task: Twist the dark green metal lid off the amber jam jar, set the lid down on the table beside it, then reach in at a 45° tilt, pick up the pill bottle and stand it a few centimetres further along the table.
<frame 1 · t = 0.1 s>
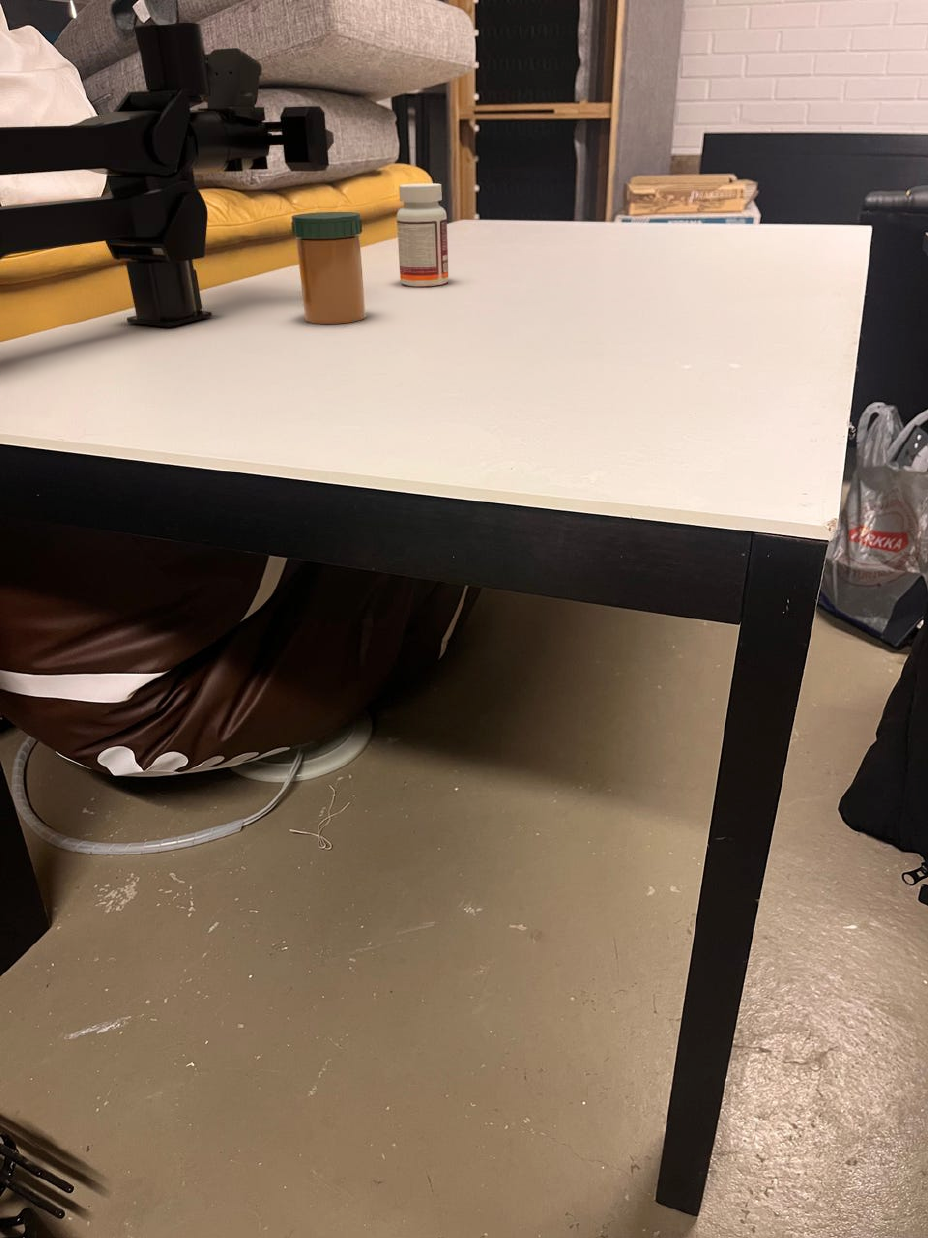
hand: (301, 138, 105), 17 cm above the table, tool horizontal, fingers open, 9 cm apart
jar lid: (326, 219, 88), point 10 cm above the table, screwed on, not yet turned
pill bottle: (424, 284, 112), on the table
jar: (335, 317, 93), on the table
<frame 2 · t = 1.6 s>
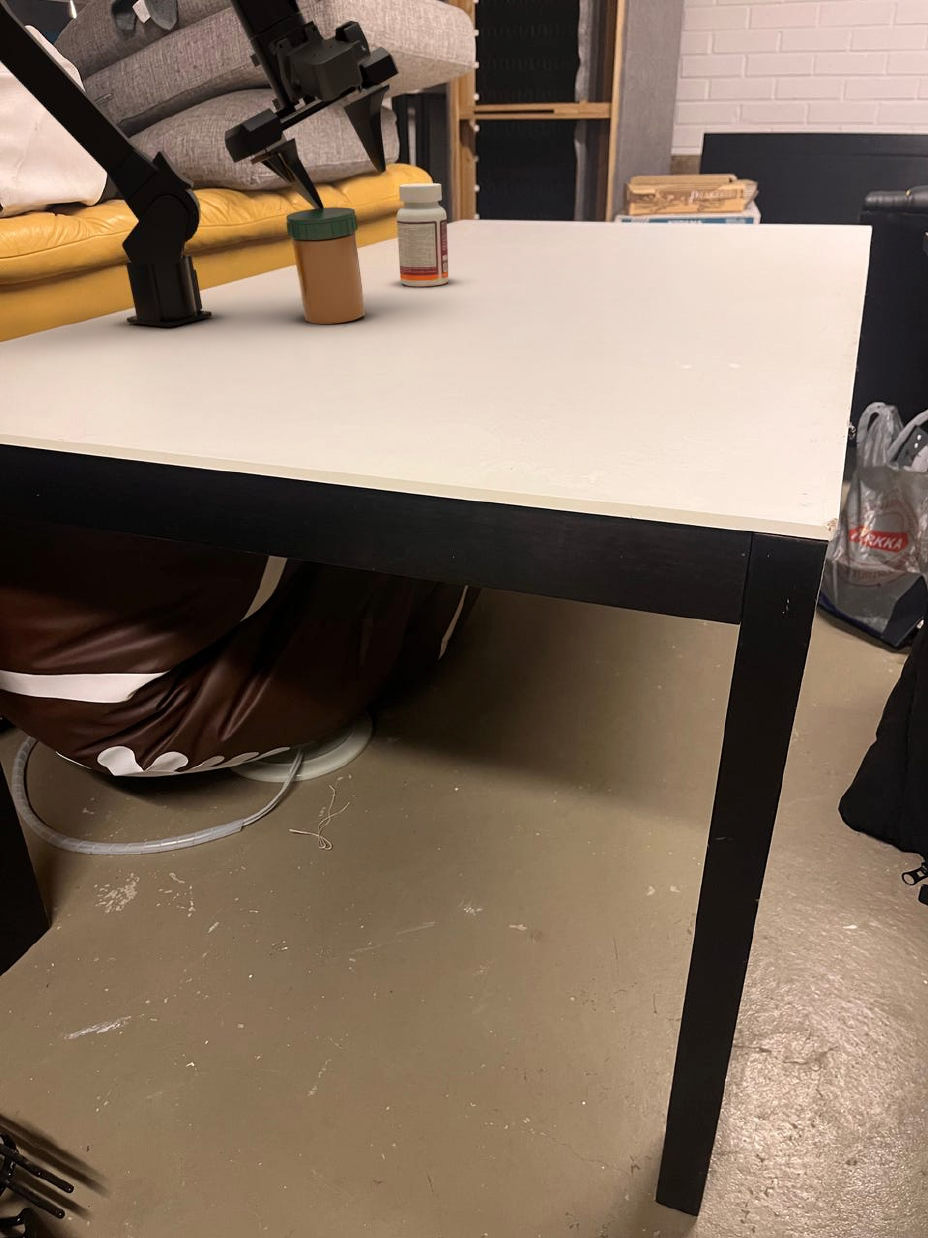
hand: (352, 190, 92), 12 cm above the table, tool tilted 25°, fingers open, 8 cm apart
jar lid: (321, 217, 87), point 10 cm above the table, screwed on, not yet turned, touching gripper
everything else where it was.
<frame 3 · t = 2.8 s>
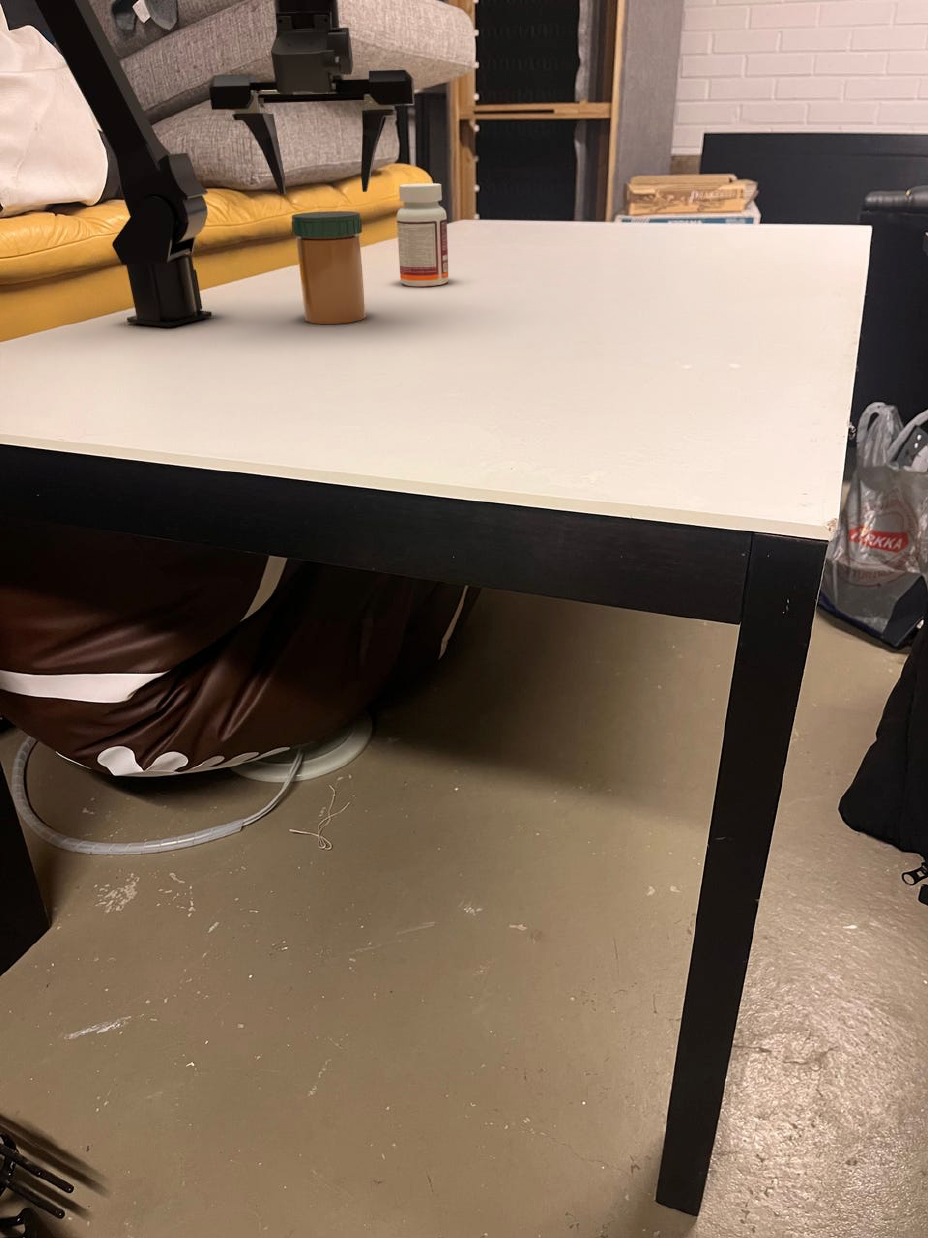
hand: (324, 192, 87), 12 cm above the table, tool pointing down, fingers open, 8 cm apart
jar lid: (326, 218, 88), point 10 cm above the table, turned 22° so far, risen 0.1 cm, still on its thread
everything else where it was.
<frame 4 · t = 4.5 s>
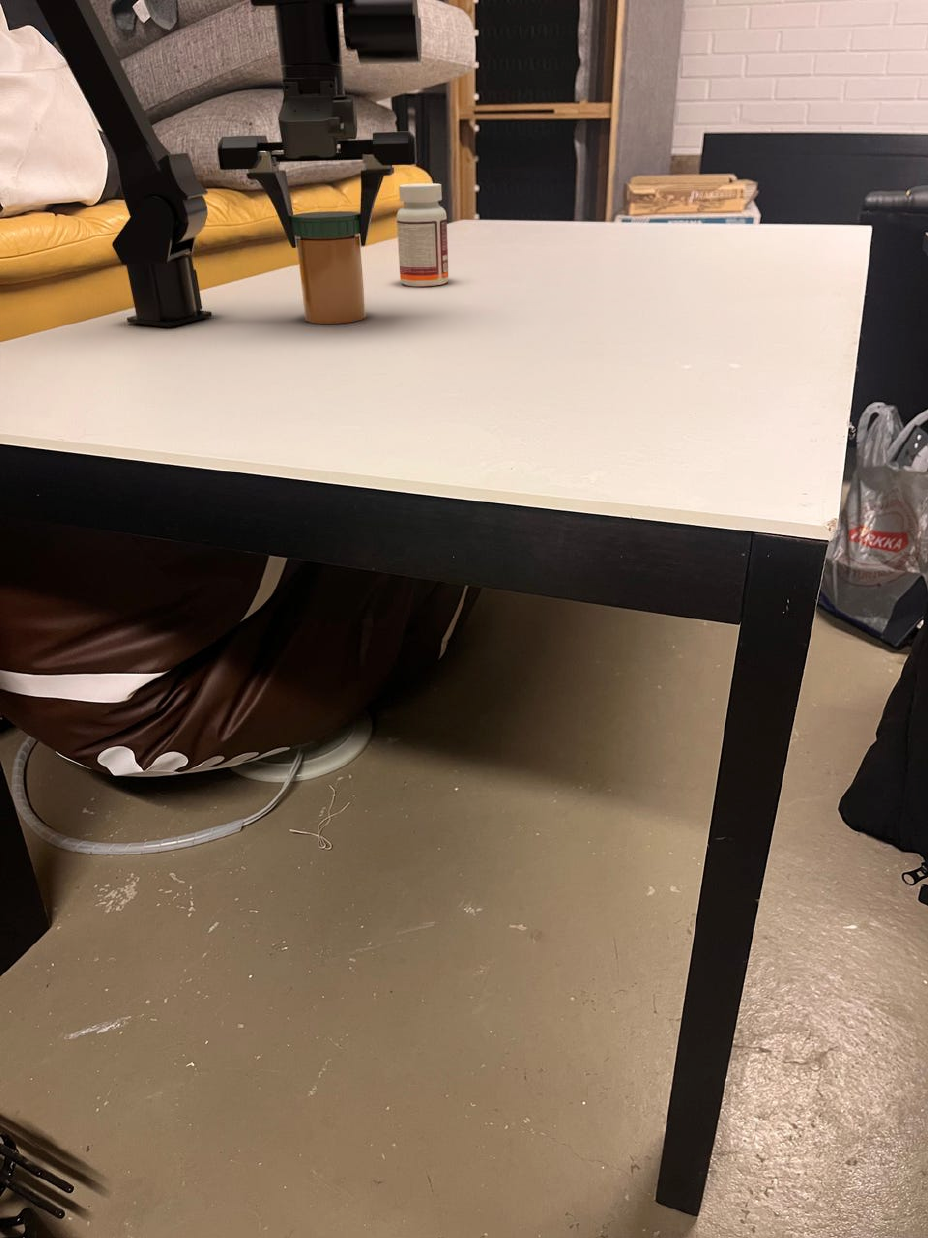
hand: (328, 246, 89), 7 cm above the table, tool pointing down, fingers closed on jar lid, 7 cm apart
jar lid: (326, 218, 88), point 10 cm above the table, turned 22° so far, risen 0.1 cm, still on its thread, touching gripper
everything else where it was.
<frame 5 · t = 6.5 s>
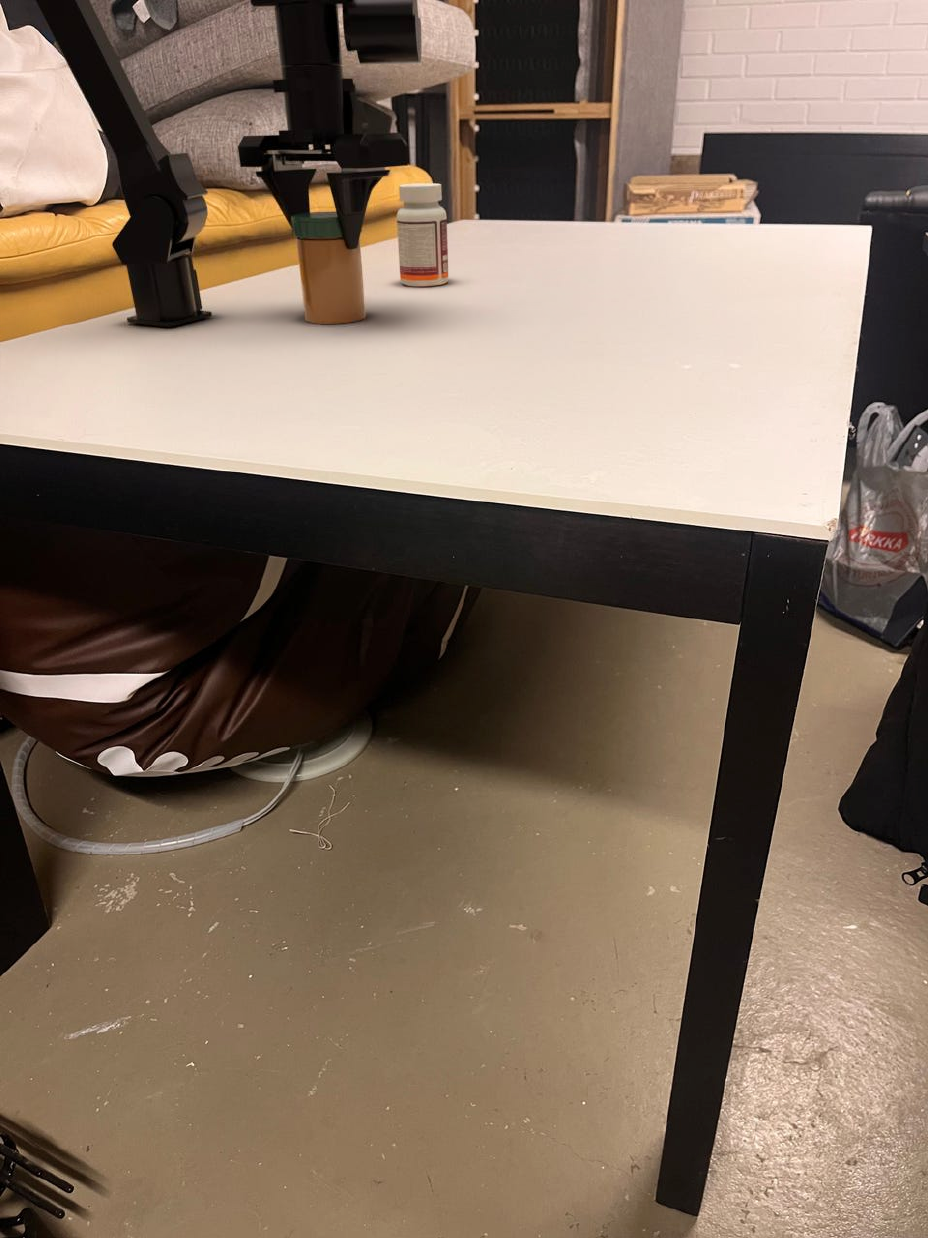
hand: (328, 246, 89), 7 cm above the table, tool pointing down, fingers closed on jar lid, 7 cm apart
jar lid: (325, 218, 88), point 10 cm above the table, off its thread, touching gripper
everything else where it was.
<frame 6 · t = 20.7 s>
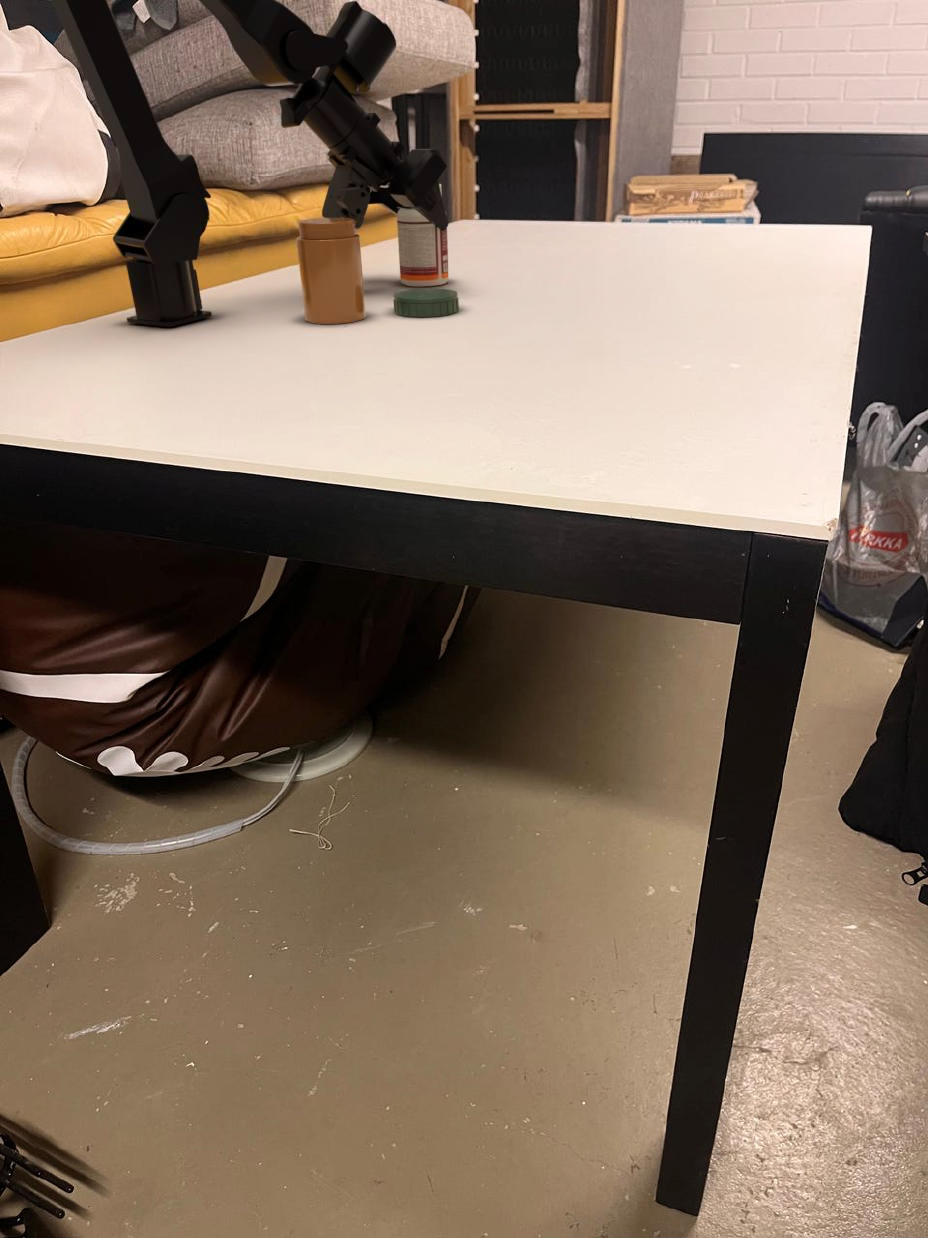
hand: (431, 226, 109), 7 cm above the table, tool tilted 45°, fingers closed on pill bottle, 6 cm apart
jar lid: (425, 297, 94), point 1 cm above the table, off its thread
pill bottle: (424, 284, 112), on the table, touching gripper
everything else where it was.
when the fingers open (7 cm above the table, at t = 25.1 s): pill bottle stays where it is, on the table.
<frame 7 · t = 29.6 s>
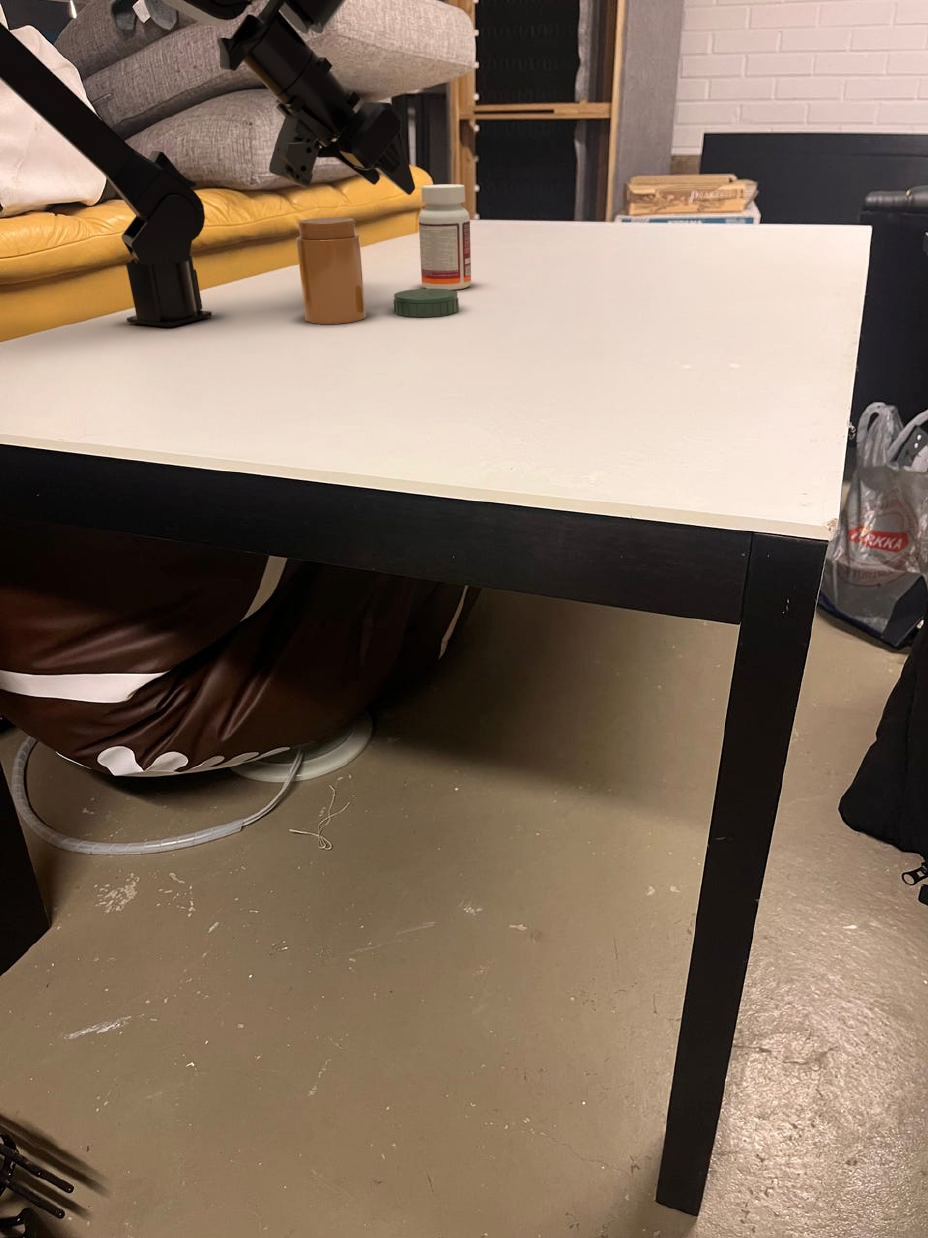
hand: (394, 186, 99), 12 cm above the table, tool tilted 45°, fingers open, 9 cm apart
pill bottle: (446, 288, 109), on the table
everything else where it was.
at the end: jar lid inside the target area (0.1 cm from its centre), point 1.4 cm above the table; pill bottle inside the target area (1.2 cm from its centre), on the table; pill bottle tilted 0° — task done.
